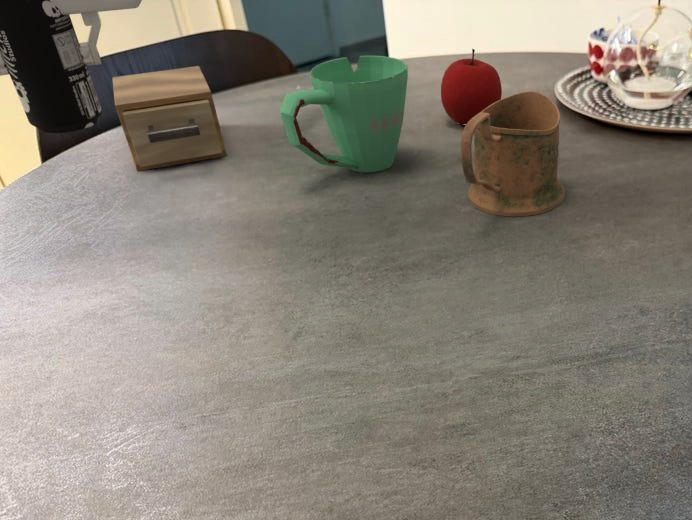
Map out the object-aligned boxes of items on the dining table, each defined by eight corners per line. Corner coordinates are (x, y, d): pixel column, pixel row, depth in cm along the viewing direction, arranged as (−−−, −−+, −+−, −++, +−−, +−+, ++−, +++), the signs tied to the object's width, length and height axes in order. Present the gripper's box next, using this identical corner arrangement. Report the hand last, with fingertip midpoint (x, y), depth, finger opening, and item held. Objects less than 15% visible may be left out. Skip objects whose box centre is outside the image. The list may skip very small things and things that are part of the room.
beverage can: (21, 124, 69) (-35, -10, 62) (88, 108, 73) (42, -21, 66) (48, 140, 66) (-9, 0, 58) (116, 122, 70) (71, -12, 62)
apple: (431, 117, 106) (427, 47, 100) (484, 107, 109) (483, 38, 103) (457, 136, 99) (454, 62, 93) (513, 124, 102) (513, 52, 96)
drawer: (226, 163, 91) (213, 111, 87) (142, 178, 88) (123, 124, 84) (210, 124, 103) (198, 76, 99) (135, 136, 100) (119, 87, 96)
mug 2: (423, 226, 77) (414, 118, 70) (494, 169, 90) (493, 71, 82) (517, 248, 73) (518, 134, 66) (579, 184, 85) (585, 82, 78)
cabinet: (227, 155, 96) (210, 91, 90) (137, 171, 92) (114, 105, 87) (214, 125, 106) (198, 65, 100) (132, 138, 102) (112, 77, 97)
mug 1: (374, 140, 99) (363, 50, 91) (434, 160, 92) (427, 65, 85) (270, 181, 88) (248, 83, 81) (329, 206, 82) (312, 102, 75)
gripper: (116, -114, 63) (161, 48, 72) (-154, -103, 57) (-70, 74, 65) (118, -109, 59) (166, 63, 67) (-175, -96, 52) (-82, 93, 61)
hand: (48, 69), depth 66 cm, fingers closed on beverage can, 6 cm apart
